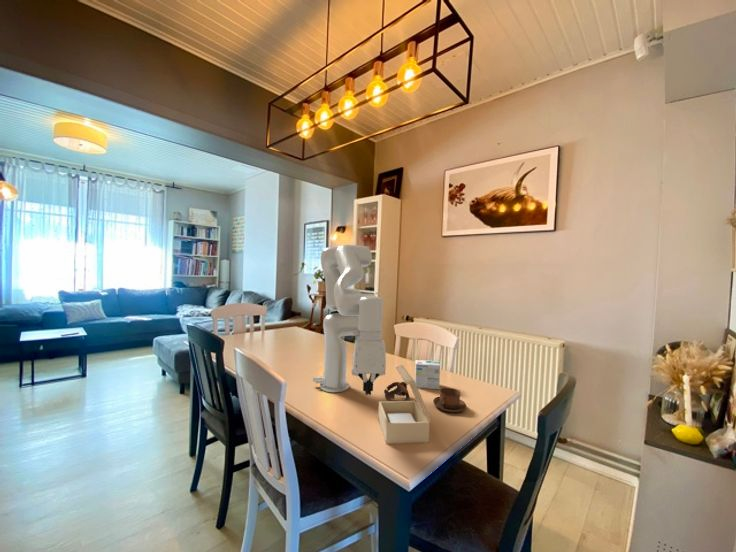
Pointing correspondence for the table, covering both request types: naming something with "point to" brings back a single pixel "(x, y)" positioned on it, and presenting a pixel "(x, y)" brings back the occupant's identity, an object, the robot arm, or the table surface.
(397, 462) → the table surface
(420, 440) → the box
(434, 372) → the light bulb box
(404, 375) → the lid
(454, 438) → the table surface
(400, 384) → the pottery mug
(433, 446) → the table surface
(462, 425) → the table surface
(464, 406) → the cup and saucer
